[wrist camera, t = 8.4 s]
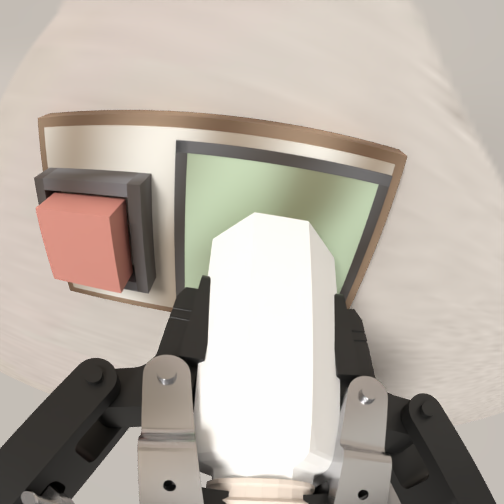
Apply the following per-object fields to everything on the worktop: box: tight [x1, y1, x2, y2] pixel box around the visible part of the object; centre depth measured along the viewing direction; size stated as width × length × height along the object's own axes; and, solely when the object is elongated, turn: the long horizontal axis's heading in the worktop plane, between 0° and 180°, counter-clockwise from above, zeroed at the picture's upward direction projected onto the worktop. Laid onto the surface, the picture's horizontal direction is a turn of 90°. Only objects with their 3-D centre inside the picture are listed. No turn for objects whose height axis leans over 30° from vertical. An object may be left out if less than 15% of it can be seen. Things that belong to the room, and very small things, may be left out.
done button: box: [36, 192, 133, 293], centre depth 13 cm, size 4×4×2 cm
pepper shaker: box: [194, 212, 340, 504], centre depth 9 cm, size 5×5×11 cm
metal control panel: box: [34, 110, 407, 312], centre depth 14 cm, size 17×11×2 cm, turn 83°
